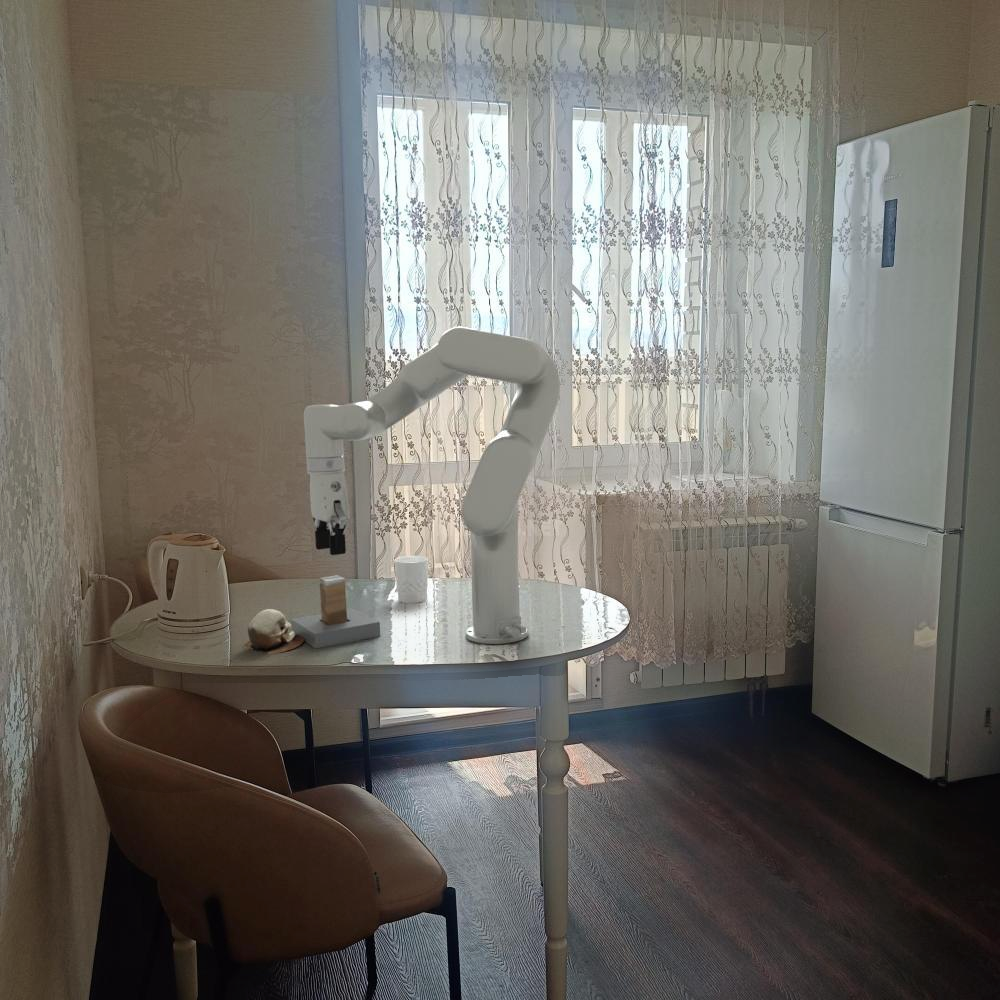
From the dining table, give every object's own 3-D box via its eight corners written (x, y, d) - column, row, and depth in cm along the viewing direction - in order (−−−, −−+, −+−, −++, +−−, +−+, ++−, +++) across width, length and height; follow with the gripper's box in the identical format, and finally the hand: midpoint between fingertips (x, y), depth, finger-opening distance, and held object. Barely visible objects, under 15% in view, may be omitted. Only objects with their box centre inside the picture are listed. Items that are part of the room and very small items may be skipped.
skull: (273, 628, 192) (294, 597, 187) (299, 666, 188) (320, 635, 183) (226, 640, 182) (246, 608, 178) (252, 681, 179) (273, 648, 174)
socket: (380, 636, 187) (379, 621, 187) (315, 648, 180) (314, 633, 179) (353, 621, 199) (352, 608, 198) (291, 632, 192) (290, 618, 191)
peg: (347, 634, 189) (344, 578, 187) (329, 638, 187) (326, 581, 185) (340, 630, 192) (337, 575, 190) (322, 634, 190) (319, 577, 188)
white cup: (407, 595, 222) (405, 554, 220) (435, 597, 218) (433, 556, 217) (389, 602, 215) (387, 561, 213) (418, 605, 211) (416, 563, 210)
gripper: (360, 467, 179) (364, 555, 182) (327, 461, 194) (332, 543, 196) (324, 470, 175) (329, 560, 178) (293, 464, 190) (298, 547, 192)
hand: (330, 550), depth 187 cm, fingers open, 7 cm apart
